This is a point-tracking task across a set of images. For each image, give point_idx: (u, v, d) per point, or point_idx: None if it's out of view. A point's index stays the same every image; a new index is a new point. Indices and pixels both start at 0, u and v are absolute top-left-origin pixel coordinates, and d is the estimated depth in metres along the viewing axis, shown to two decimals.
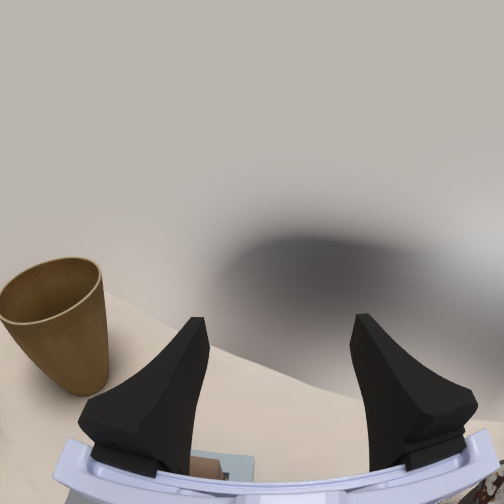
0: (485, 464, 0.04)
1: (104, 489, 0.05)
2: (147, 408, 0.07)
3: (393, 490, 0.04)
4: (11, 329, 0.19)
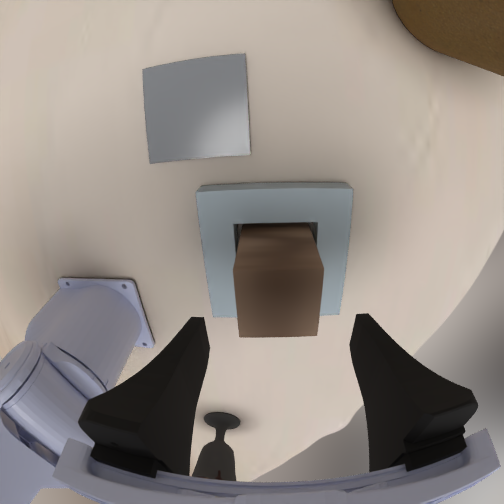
0: (485, 464, 0.04)
1: (104, 489, 0.05)
2: (147, 408, 0.07)
3: (393, 490, 0.04)
4: None
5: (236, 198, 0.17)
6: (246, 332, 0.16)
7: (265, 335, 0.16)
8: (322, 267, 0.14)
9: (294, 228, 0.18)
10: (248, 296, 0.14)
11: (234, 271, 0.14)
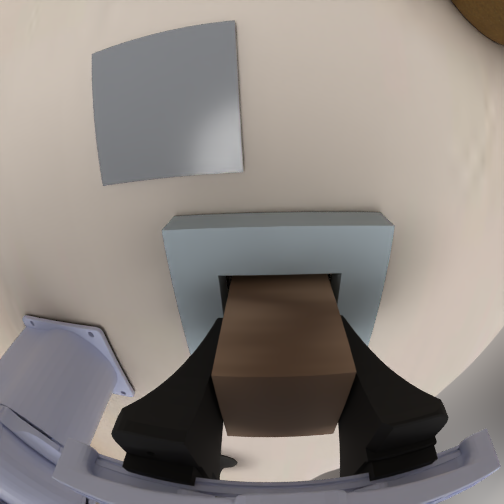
0: (485, 464, 0.04)
1: (104, 489, 0.05)
2: (189, 414, 0.06)
3: (393, 490, 0.04)
4: None
5: (221, 240, 0.12)
6: (237, 432, 0.10)
7: (264, 435, 0.10)
8: (353, 368, 0.08)
9: (307, 281, 0.13)
10: (237, 402, 0.09)
11: (214, 376, 0.08)
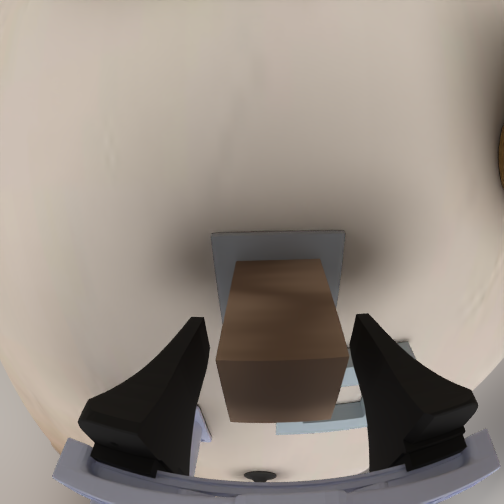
0: (485, 464, 0.04)
1: (104, 489, 0.05)
2: (147, 408, 0.07)
3: (393, 490, 0.04)
4: None
5: None
6: (239, 418, 0.11)
7: (264, 421, 0.11)
8: (346, 353, 0.09)
9: (304, 275, 0.13)
10: (239, 386, 0.10)
11: (218, 360, 0.09)
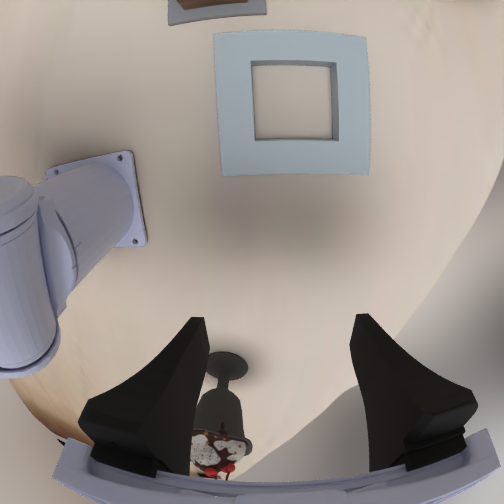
0: (485, 464, 0.04)
1: (104, 489, 0.05)
2: (147, 408, 0.07)
3: (393, 490, 0.04)
4: None
5: (254, 37, 0.14)
6: None
7: None
8: None
9: None
10: None
11: None
